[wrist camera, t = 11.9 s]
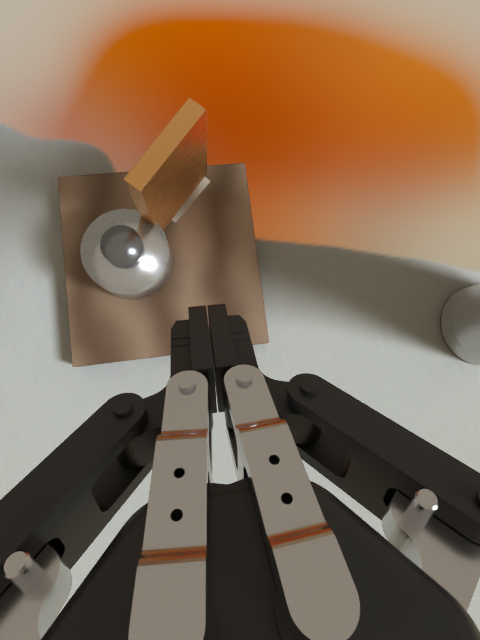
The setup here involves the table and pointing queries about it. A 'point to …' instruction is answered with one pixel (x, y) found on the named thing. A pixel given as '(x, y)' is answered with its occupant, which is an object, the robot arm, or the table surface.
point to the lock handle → (148, 210)
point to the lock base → (187, 268)
